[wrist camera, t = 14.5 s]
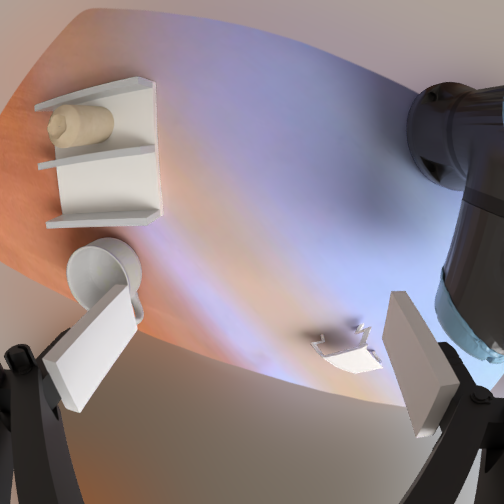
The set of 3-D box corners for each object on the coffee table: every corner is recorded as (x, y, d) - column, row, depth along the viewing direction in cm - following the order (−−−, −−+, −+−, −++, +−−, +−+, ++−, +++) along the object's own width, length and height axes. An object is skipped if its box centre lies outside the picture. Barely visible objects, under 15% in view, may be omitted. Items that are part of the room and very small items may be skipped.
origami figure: (385, 316, 46) (393, 334, 42) (378, 358, 49) (384, 376, 45) (310, 319, 48) (312, 338, 43) (308, 361, 51) (309, 380, 46)
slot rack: (155, 82, 38) (138, 76, 32) (163, 214, 44) (147, 225, 39) (57, 105, 40) (34, 105, 34) (67, 218, 46) (46, 228, 41)
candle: (114, 142, 40) (73, 147, 31) (84, 144, 41) (40, 151, 31) (115, 104, 38) (73, 100, 29) (84, 108, 39) (40, 108, 29)
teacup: (82, 246, 48) (54, 264, 40) (128, 218, 45) (101, 234, 38) (124, 315, 52) (103, 341, 44) (172, 296, 49) (154, 323, 42)
